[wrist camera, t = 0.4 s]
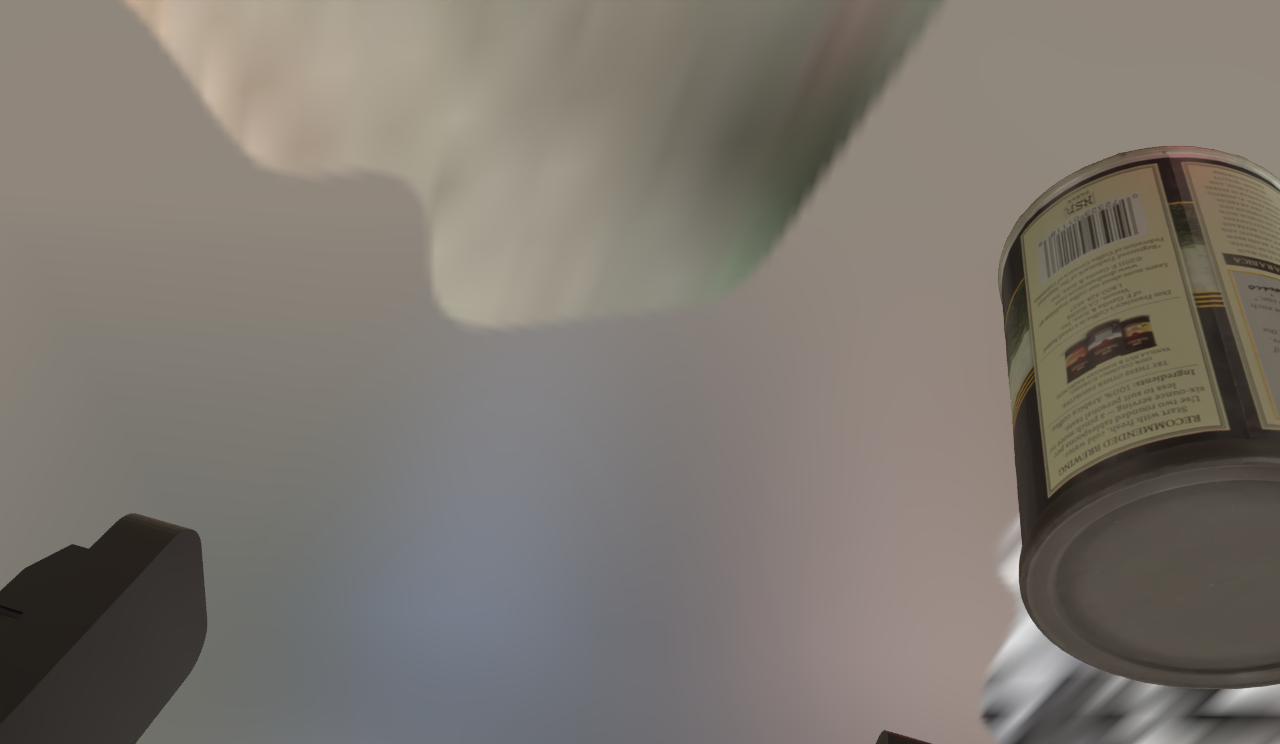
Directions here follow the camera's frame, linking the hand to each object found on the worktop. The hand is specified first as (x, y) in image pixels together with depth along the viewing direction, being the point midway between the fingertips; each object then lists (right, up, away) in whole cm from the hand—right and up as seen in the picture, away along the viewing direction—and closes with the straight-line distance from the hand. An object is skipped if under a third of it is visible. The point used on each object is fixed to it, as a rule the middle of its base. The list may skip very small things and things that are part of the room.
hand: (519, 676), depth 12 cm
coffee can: (+20, +7, +27) cm, 34 cm away
